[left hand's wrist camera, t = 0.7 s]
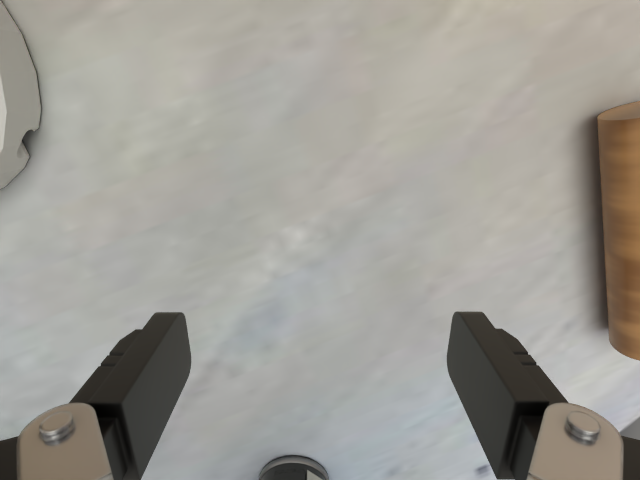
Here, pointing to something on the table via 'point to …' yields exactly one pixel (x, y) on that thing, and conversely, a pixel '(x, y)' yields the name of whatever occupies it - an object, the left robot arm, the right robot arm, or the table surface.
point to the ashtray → (15, 98)
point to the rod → (621, 223)
